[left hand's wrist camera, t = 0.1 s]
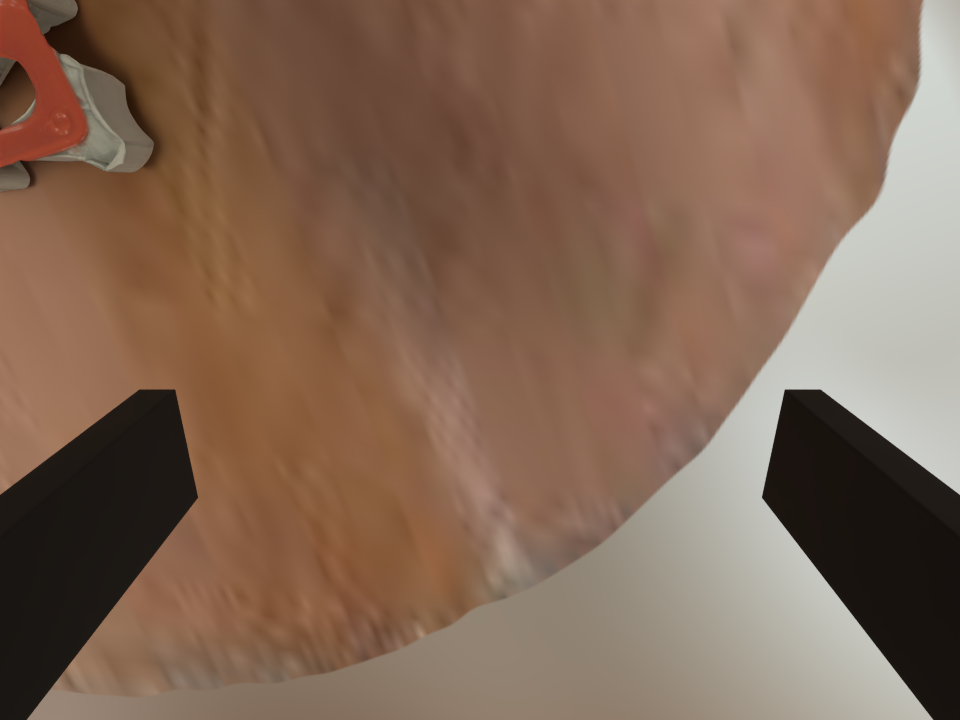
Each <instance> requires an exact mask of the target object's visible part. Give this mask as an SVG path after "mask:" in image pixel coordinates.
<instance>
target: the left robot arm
mask: <svg viewBox="0 0 960 720" xmlns="http://www.w3.org/2000/svg"><path fill="white" fill-rule="evenodd" d="M197 498H198V495H197V490H196V486H195V481H194V476H193V472H192V467H191V462H190V457H189V453H188V448H187V443H186V439H185V434H184V429H183V424H182V420H181V415H180V410H179V406H178V401H177V396H176V391H175V390H138V391H137V392H136V393H134V394H133V395H132V396H130V397H129V398H128V399H126V400H125V401H124V402H122V403H121V404H120V405H118V406H117V407H116V408H115V409H113V410H112V411H111V412H109V413H108V414H107V415H105V416H104V417H103V418H101V419H100V420H99V421H97V422H96V423H95V424H93V425H92V426H91V427H89V428H88V429H87V430H85V431H84V432H83V433H81V434H80V435H79V436H78V437H76V438H75V439H74V440H72V441H71V442H70V443H68V444H67V445H66V446H64V447H63V448H62V449H60V450H59V451H58V452H56V453H55V454H54V455H52V456H51V457H50V458H48V459H47V460H46V461H44V462H43V463H42V464H40V465H39V466H38V467H37V468H35V469H34V470H33V471H31V472H30V473H29V474H27V475H26V476H25V477H23V478H22V479H21V480H19V481H18V482H17V483H15V484H14V485H13V486H11V487H10V488H9V489H7V490H6V491H5V492H3V493H2V494H1V495H0V720H27V719H28V717H29V716H30V715H31V713H32V712H33V711H34V709H35V708H36V707H37V706H38V704H39V703H40V702H41V700H42V699H43V698H44V697H45V695H46V694H47V693H48V691H49V690H50V689H51V688H52V686H53V685H54V684H55V682H56V681H57V680H58V678H59V677H60V676H61V675H62V673H63V672H64V671H65V669H66V668H67V667H68V665H69V664H70V663H71V662H72V660H73V659H74V658H75V656H76V655H77V654H78V653H79V651H80V650H81V649H82V647H83V646H84V645H85V643H86V642H87V641H88V640H89V638H90V637H91V636H92V634H93V633H94V632H95V630H96V629H97V628H98V627H99V625H100V624H101V623H102V621H103V620H104V619H105V618H106V616H107V615H108V614H109V612H110V611H111V610H112V608H113V607H114V606H115V605H116V603H117V602H118V601H119V599H120V598H121V597H122V595H123V594H124V593H125V592H126V590H127V589H128V588H129V586H130V585H131V584H132V583H133V581H134V580H135V579H136V577H137V576H138V575H139V573H140V572H141V571H142V570H143V568H144V567H145V566H146V564H147V563H148V562H149V560H150V559H151V558H152V557H153V555H154V554H155V553H156V551H157V550H158V549H159V548H160V546H161V545H162V544H163V542H164V541H165V540H166V538H167V537H168V536H169V535H170V533H171V532H172V531H173V529H174V528H175V527H176V525H177V524H178V523H179V522H180V520H181V519H182V518H183V516H184V515H185V514H186V513H187V511H188V510H189V509H190V507H191V506H192V505H193V503H194V502H195V501H196V500H197ZM762 498H763V500H764V501H765V502H766V503H767V505H768V506H769V507H770V509H771V510H772V511H773V513H774V514H775V515H776V516H777V518H778V519H779V520H780V522H781V523H782V524H783V525H784V527H785V528H786V529H787V531H788V532H789V533H790V535H791V536H792V537H793V538H794V540H795V541H796V542H797V543H798V545H799V546H800V548H801V549H802V550H803V551H804V553H805V554H806V555H807V557H808V558H809V559H810V560H811V562H812V563H813V564H814V566H815V567H816V568H817V569H818V571H819V572H820V573H821V575H822V576H823V577H824V579H825V580H826V581H827V583H828V584H829V585H830V586H831V588H832V589H833V590H834V592H835V593H836V594H837V595H838V597H839V598H840V599H841V601H842V602H843V603H844V605H845V606H846V607H847V608H848V610H849V611H850V612H851V614H852V615H853V616H854V618H855V619H856V620H857V621H858V623H859V624H860V625H861V627H862V628H863V629H864V630H865V632H866V633H867V634H868V636H869V637H870V638H871V640H872V641H873V642H874V643H875V645H876V646H877V647H878V648H879V650H880V651H881V652H882V654H883V655H884V656H885V658H886V659H887V660H888V662H889V663H890V664H891V665H892V667H893V668H894V669H895V671H896V672H897V673H898V674H899V676H900V677H901V678H902V680H903V681H904V682H905V684H906V685H907V686H908V688H909V689H910V690H911V691H912V693H913V694H914V695H915V697H916V698H917V699H918V700H919V702H920V703H921V704H922V706H923V707H924V708H925V710H926V711H927V712H928V713H929V715H930V716H931V717H932V719H933V720H960V495H959V494H958V493H957V492H955V491H954V490H953V489H951V488H950V487H949V486H947V485H946V484H945V483H943V482H942V481H941V480H939V479H938V478H937V477H935V476H934V475H933V474H931V473H930V472H929V471H927V470H926V469H925V468H923V467H922V466H921V465H920V464H918V463H917V462H916V461H914V460H913V459H912V458H910V457H909V456H908V455H906V454H905V453H904V452H902V451H901V450H900V449H898V448H897V447H896V446H894V445H893V444H892V443H890V442H889V441H888V440H886V439H885V438H884V437H882V436H881V435H880V434H878V433H877V432H876V431H875V430H873V429H872V428H871V427H869V426H868V425H867V424H865V423H864V422H863V421H861V420H860V419H859V418H857V417H856V416H855V415H853V414H852V413H851V412H849V411H848V410H847V409H845V408H844V407H843V406H841V405H840V404H839V403H837V402H836V401H835V400H834V399H832V398H831V397H830V396H828V395H827V394H826V393H824V392H823V391H822V390H785V391H784V396H783V401H782V406H781V410H780V415H779V420H778V424H777V429H776V434H775V439H774V443H773V448H772V453H771V457H770V462H769V467H768V472H767V476H766V481H765V486H764V490H763V495H762Z"/></svg>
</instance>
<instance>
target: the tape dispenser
mask: <svg viewBox="0 0 960 720" xmlns="http://www.w3.org/2000/svg"><path fill="white" fill-rule="evenodd" d="M77 11H78V7H77V3H76V2H75V0H0V86H1V84H2V82H3V81H4V79H5V77H6V76H7V74H8V72H9V71H10V69H11V68H12V66H13V64H14V63H15V62H16V61H18V62H19V63H20V64H21V65H22V67H23V68H24V69H25V70H26V72H27V74H28V76H29V78H30V80H31V81H32V83H33V87H34V90H35V100H34V102H33V103H32V105H31V106H30V108H29V109H28V110H27V112H26V113H25V114H24V115H22V116H21V117H20V118H19V119H17V120H16V121H14V122H13V123H12V124H11V125H9V126H7V127H5V128H3V129H1V130H0V192H1V191H9V190H17V189H25V188H26V187H28V185H29V183H30V177H29V174H28V172H27V171H26V170H25V168H24V167H23V165H22V164H21V162H20V161H19V160H25V161H34V160H43V161H84V162H87V163H90V164H92V165H94V166H96V167H98V168H100V169H102V170H105V171H107V172H135V171H137V170H139V169H140V168H141V167H142V166H143V165H144V164H145V163H146V162H147V161H148V159H149V157H150V155H151V154H152V151H153V147H154V142H153V141H152V140H151V139H150V138H149V137H148V136H147V135H146V134H145V133H144V132H143V131H142V129H141V128H140V127H139V126H138V125H137V123H136V122H135V120H134V118H133V117H132V115H131V113H130V111H129V109H128V106H127V102H126V94H125V85H124V84H123V83H121V82H120V81H119V80H118V79H116V78H115V77H114V76H112V75H110V74H108V73H106V72H103V71H101V70H98V69H95V68H92V67H88V66H85V65H82V64H79V63H78V62H77V61H76V60H74V59H73V58H71V57H70V56H68V55H67V54H59V53H58V52H57V51H56V50H55V49H53V48H52V47H51V46H50V45H49V43H48V42H47V41H46V39H45V37H44V34H45V33H47V32H48V31H49V30H50V27H51V26H57V25H59V24H62V23H64V22H66V21H68V20H70V19H72V18H73V17H75V16H76V14H77Z"/></svg>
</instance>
